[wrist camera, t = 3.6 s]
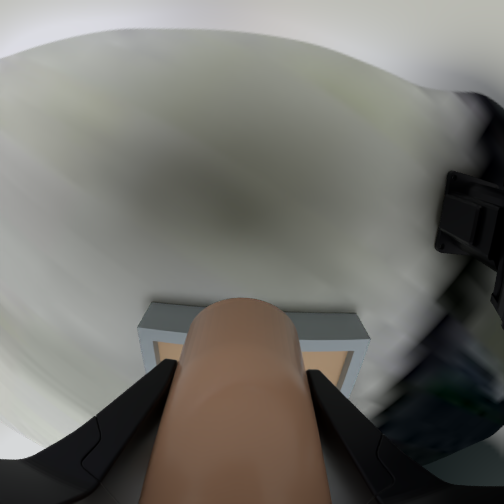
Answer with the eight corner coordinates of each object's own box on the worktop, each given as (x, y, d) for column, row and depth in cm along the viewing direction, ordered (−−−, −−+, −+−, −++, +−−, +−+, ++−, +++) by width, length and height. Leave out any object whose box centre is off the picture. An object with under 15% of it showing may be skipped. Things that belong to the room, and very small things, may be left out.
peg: (307, 301, 9) (369, 508, 3) (289, 386, 11) (308, 549, 4) (185, 292, 9) (108, 496, 3) (189, 379, 11) (154, 541, 4)
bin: (356, 313, 22) (370, 339, 18) (316, 431, 27) (321, 455, 24) (151, 302, 21) (137, 327, 18) (171, 424, 27) (166, 449, 23)
